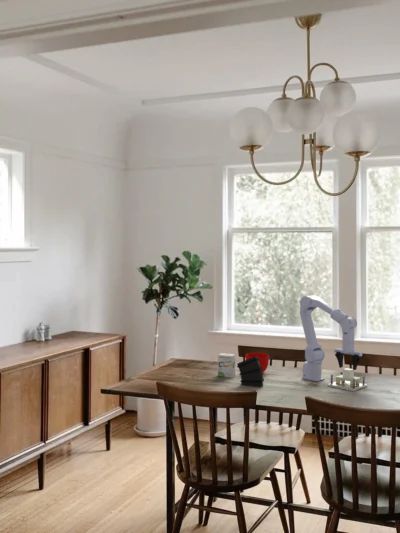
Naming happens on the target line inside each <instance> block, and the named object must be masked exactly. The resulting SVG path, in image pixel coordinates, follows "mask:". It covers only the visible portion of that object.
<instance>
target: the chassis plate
mask: <svg viewBox="0 0 400 533" xmlns="http://www.w3.org/2000/svg"><path fill="white" fill-rule="evenodd" d="M340 375H343V371H340ZM333 376H334V375H333V374H330V383H328V384H327V387H330V388H336V389H340V390H345V391H350V392H355V391H358V390H361V389H363V388H366V387H367V388H368V384H366V383H365V379H366V378H365V377H366V376H365V375H362V383H361V382H360V381H361V380H358V381H355V379H353V382H351V381H346V380H340V379H336V378H335V381H334V377H333Z"/></svg>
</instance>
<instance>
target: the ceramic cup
mask: <svg viewBox="0 0 400 533" xmlns="http://www.w3.org/2000/svg"><path fill="white" fill-rule="evenodd" d="M255 356H257V357H259V359H258V360H259V362H260V365H261V367H262V374H264V372H266V370H267V369H268V366H269V363H270V362H269V361H270V355H269V354H267V353H263V352H249V353H246V354H245V360H247V359H250V358H252V357H255Z"/></svg>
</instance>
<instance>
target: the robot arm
mask: <svg viewBox="0 0 400 533" xmlns="http://www.w3.org/2000/svg"><path fill="white" fill-rule="evenodd" d="M299 306H300V307H299V316H300V320H301V324H302V328H303V334H304V338H305V341H306V342H305V343H306V347H305V348H304V359H305V360H306V361H304V362H303V365H302V377H301V379H304V380H306V381H307V380H308V381H314V382H319V381H322V380H325V379H326V378H325V377H323V376H322V375H323V374H322V373H323V372H322V370H323V368H322V366H323V360H324V359H325V357H326V356H325V352H324V350H323V348H322V346H321V345H320V343H318V340H317V334H316V331H315V327H314V323H313V319H312V318H313V317H312V313H313V311H314V310H315V309H317V308H319V309H320V310H322V311H323V312H325V313H327V314H328V315H330V319H331V320H333V321H335V322H336V323H338V324H339V325H340V327H341V331H342V339H341V340H342V344H341V345H342V346H341V347H342V348H340V347H339V348H338V347H337V348H336V347H335V348H334V349H333V351H334V352H333V353H334V356H335V359H336V360H337V362H338V367H339V368H343V367H344V356H345V355H350V356H351V355H352V356H351V359H352V369H353V370H354V371H356V370H357V368H358V365H359V362H360V360H361V359H362V356H363V351H360V350H356V349H355V329H356V327H357V325H358V322H357V319H356V318H355V317H354V316H349V314H347V313H344V312H343V311H342V309H340V308H335V309H334V308H333V307H332V306H330V305H329V304H328V303H327V302H326V301H324V300H323V299H322V297H319V296H318V295H316V294H313V295H303V296H302V297H301V298H300V300H299Z"/></svg>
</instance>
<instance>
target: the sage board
mask: <svg viewBox="0 0 400 533" xmlns="http://www.w3.org/2000/svg"><path fill="white" fill-rule="evenodd" d="M342 372H343V375H341V374H340V375H337V376H335V380H336V379H340V380H346V381H351V382H353V379H355V381H358V380H360V381H361V377H358V376H355V370H353V368H348V367H346V368H342Z"/></svg>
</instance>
